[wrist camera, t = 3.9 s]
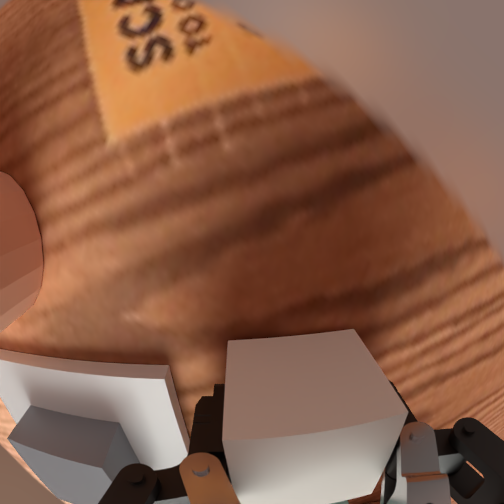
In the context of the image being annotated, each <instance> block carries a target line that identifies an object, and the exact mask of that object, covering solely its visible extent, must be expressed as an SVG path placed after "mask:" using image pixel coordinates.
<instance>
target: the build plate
mask: <svg viewBox="0 0 504 504" xmlns="http://www.w3.org/2000/svg"><path fill="white" fill-rule="evenodd" d="M0 397H1V399H2V401H3V402H4V404H5V406H6V408H7V409H8V411H9V413H10V414H11V416H12V418H13V419H14V421H15V422H16V424H17V425H16V426H15V428H14V429H13V431H12V432H11V434H10V435H9V437H8V438H7V439H8V440H9V441H10V443H11V444H12V445H13V447H14V448H15V449H16V451H17V452H18V453H19V455H20V456H21V457H22V458H23V460H24V461H25V462H26V463H27V465H28V466H29V467H30V468H31V469H32V471H33V472H34V473H35V474H36V475H37V476H38V477H39V479H40V480H41V481H42V482H43V483H44V484H45V485H46V486H47V487H48V488H49V489H50V491H51V492H52V493H53V494H54V495H55V496H56V497H57V498H59V499H61V500H64V501H67V502H70V503H73V504H98V503H99V501H100V500H101V498H102V497H103V495H104V494H105V492H106V491H107V489H108V488H109V486H110V485H111V483H112V482H113V480H114V479H115V477H116V476H117V474H118V473H119V471H120V470H121V469H122V468H123V467H125V466H127V465H129V464H134V463H141V464H145V465H148V466H149V467H151V468H152V469H153V470H160V469H166V468H171V467H174V466H177V465H179V464H180V463H181V462H182V460H183V459H184V458H186V457H187V455H188V452H189V445H190V439H189V436H188V433H187V429H186V426H185V423H184V419H183V416H182V413H181V409H180V406H179V402H178V398H177V395H176V391H175V387H174V383H173V379H172V375H171V371H170V367H169V365H144V364H121V363H105V362H92V361H81V360H72V359H63V358H54V357H47V356H40V355H33V354H27V353H21V352H15V351H9V350H4V349H0Z"/></svg>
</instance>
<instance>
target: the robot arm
mask: <svg viewBox="0 0 504 504" xmlns="http://www.w3.org/2000/svg"><path fill="white" fill-rule="evenodd" d="M388 381H389V380H388ZM389 382H390V384H391V385H392V387H393V388H394V390H395V391H396V393H397V395H398V396H399V398H400V399H401V401H402V402H403V404H404V405H405V407H406V409H407V410H408V415H407V417H406V420H405V423H404V425H403V428H402V430H401V433H400V435H399V437H398V440H397V442H396V445H395V447H394V449H393V451H392V454H391V456H390V458H389V460H388V462H387V464H386V466H385V468H384V471H383V473H382V487H381V501H380V504H451V497H452V498H453V499H454V500H455V501H456V502H457V503H458V504H504V441H503V440H502V439H500V438H499V437H498V436H497V435H495V434H494V433H493V432H492V431H490V430H489V429H488V428H487V427H485V426H484V425H483V424H482V423H480V422H479V421H478V420H476V419H474V418H462V419H460V420H458V421H457V422H456V423H455V425H454V427H453V428H451V429H440V430H433V429H432V427H431V426H429V425H428V424H426V423H423V422H418V421H417V420H416V418H415V417H414V415H413V414H412V412H411V410H410V409H409V407H408V406H407V404H406V403H405V401H404V400H403V399H402V397H401V395H400V393H399V392H398V390H397V389H396V387H395V386H394V384H393V383H392V382H391V381H389ZM224 395H225V384H215V385H214V394H213V396H202V397H201V399H200V400H199V401H198V403H197V404H196V407H195V413H194V419H193V426H192V432H191V439H190V445H189V452H188V455H187V457H186V458H184V459H183V460H182V462H181V463H180V464H179V465H177V466H174V467H171V468H166V469H160V470H153V469H152V468H151V467H149V466H148V465H145V464H141V463H134V464H129V465H127V466H125V467H123V468H122V469H121V470H120V471H119V473H118V474H117V476H116V477H115V479H114V480H113V482H112V483H111V485H110V486H109V488H108V489H107V491H106V492H105V494H104V495H103V497H102V498H101V500H100V501H99V503H98V504H241V503H240V501H239V499H238V497H237V496H236V494H235V492H234V490H233V488H232V486H231V485H232V483H231V478H230V474H229V470H228V465H227V461H226V456H225V452H224V447H223V442H222V432H223V413H224ZM466 461H468V462H470V463H471V464H472V465H473V466H474V467H475V468H476V469H477V470H478V471H479V472H481V473H482V474H483V476H484V478H482V477H481V476H480V475H479V474H478V473H477V472H476V471H475V470H474V469H473V468H472V467H471V466H469V465H468V464H467V463H466ZM450 496H451V497H450Z"/></svg>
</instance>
